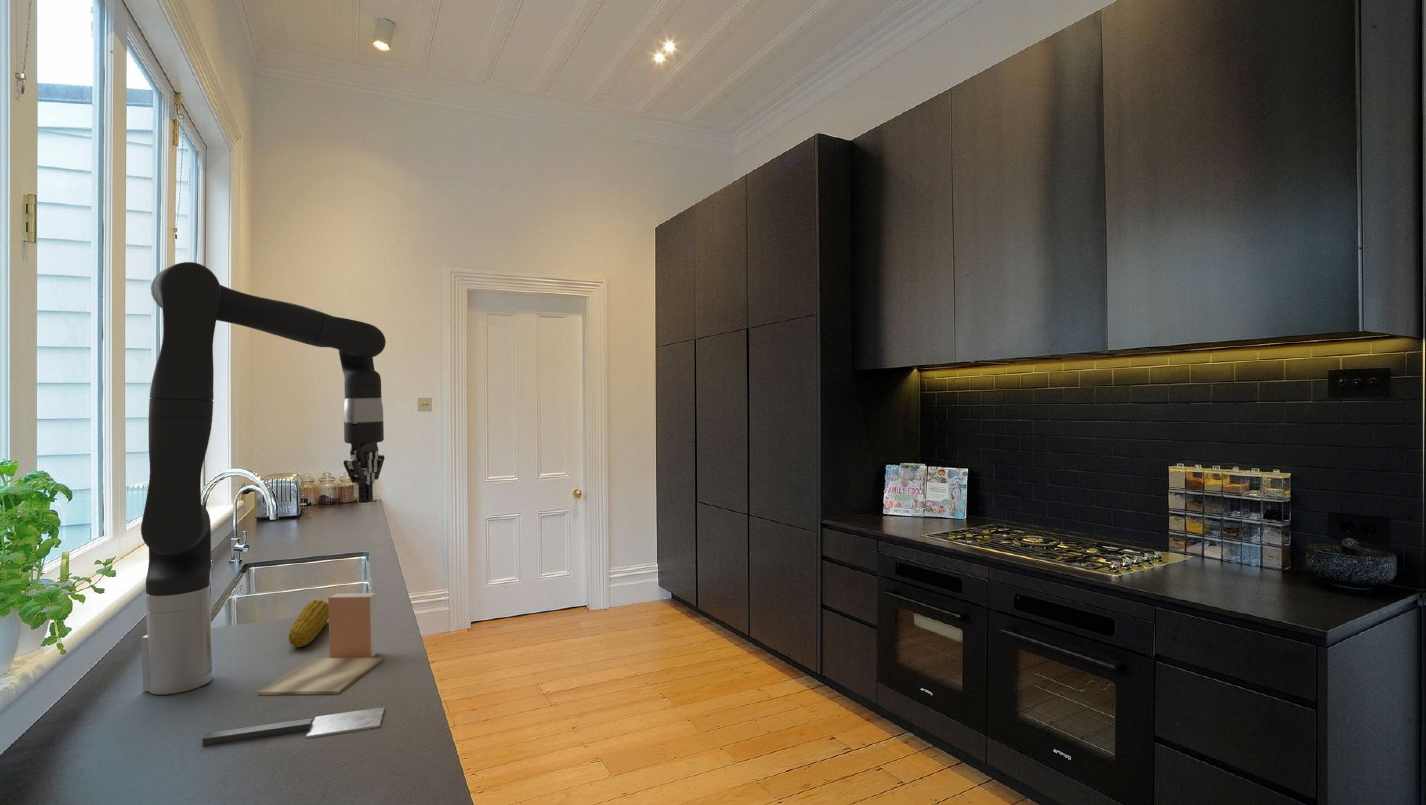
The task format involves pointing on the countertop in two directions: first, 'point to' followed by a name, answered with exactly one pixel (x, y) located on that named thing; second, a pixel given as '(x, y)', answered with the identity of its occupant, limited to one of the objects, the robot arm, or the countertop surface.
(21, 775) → the countertop surface
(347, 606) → the sponge
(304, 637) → the food
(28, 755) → the countertop surface
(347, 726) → the knife with black handle
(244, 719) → the countertop surface
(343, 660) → the board
